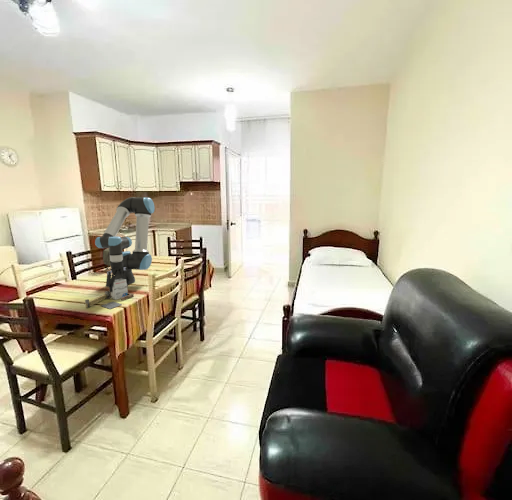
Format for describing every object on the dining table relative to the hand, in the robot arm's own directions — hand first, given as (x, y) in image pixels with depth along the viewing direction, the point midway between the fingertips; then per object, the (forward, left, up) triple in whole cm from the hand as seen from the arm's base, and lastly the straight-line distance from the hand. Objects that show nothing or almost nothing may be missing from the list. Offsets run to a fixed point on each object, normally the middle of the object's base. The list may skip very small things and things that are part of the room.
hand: (119, 294), depth 199 cm
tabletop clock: (-42, -65, -2) cm, 78 cm away
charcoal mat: (+11, +8, -2) cm, 14 cm away
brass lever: (+13, -3, -2) cm, 13 cm away
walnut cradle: (+1, 0, -2) cm, 2 cm away
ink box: (0, 0, -2) cm, 2 cm away
